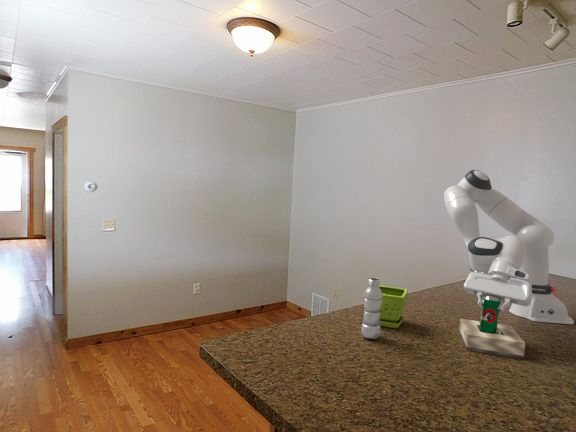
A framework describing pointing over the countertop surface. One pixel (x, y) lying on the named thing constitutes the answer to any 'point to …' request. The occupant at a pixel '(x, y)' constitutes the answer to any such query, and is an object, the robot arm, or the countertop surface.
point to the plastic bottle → (372, 310)
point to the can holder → (492, 339)
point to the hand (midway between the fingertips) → (489, 308)
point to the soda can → (489, 314)
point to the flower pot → (392, 306)
